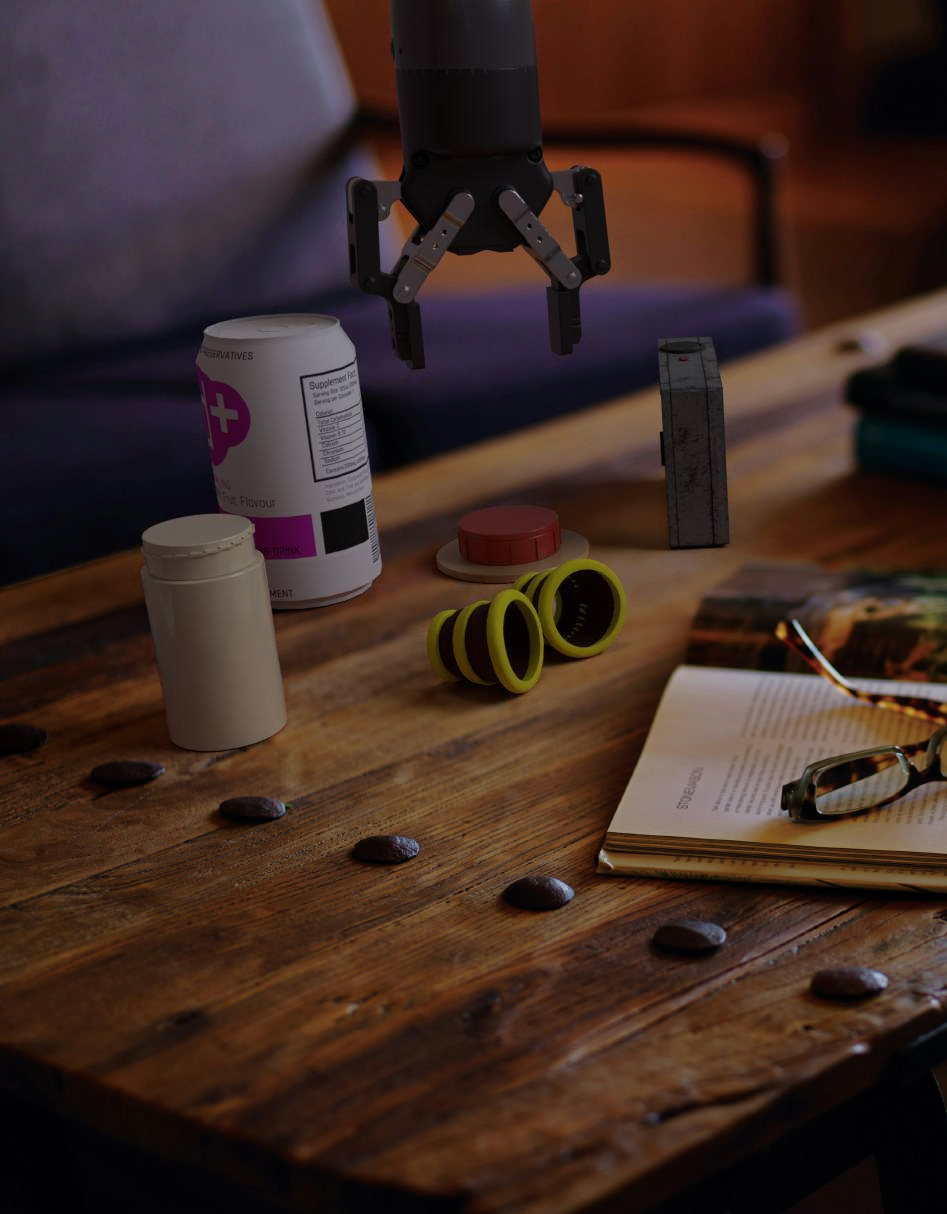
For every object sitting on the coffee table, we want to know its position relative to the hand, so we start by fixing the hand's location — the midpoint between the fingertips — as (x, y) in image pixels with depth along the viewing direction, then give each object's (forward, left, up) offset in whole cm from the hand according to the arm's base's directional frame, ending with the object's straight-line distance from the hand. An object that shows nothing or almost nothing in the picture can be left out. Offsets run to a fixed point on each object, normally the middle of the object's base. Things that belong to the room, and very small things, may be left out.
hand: (490, 360), depth 93 cm
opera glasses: (+2, -17, -12) cm, 21 cm away
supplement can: (-11, -4, -12) cm, 17 cm away
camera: (+11, +8, -12) cm, 18 cm away
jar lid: (0, 0, -10) cm, 10 cm away
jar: (-11, -22, -12) cm, 28 cm away
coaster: (0, 0, -12) cm, 12 cm away
